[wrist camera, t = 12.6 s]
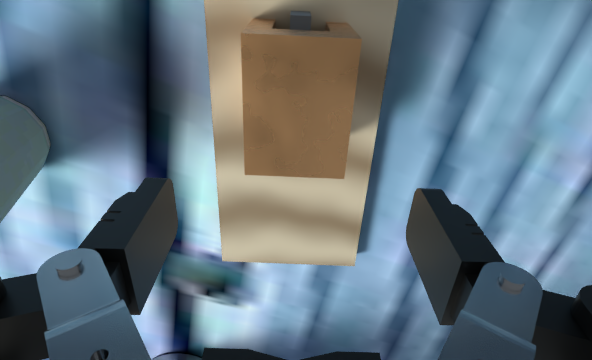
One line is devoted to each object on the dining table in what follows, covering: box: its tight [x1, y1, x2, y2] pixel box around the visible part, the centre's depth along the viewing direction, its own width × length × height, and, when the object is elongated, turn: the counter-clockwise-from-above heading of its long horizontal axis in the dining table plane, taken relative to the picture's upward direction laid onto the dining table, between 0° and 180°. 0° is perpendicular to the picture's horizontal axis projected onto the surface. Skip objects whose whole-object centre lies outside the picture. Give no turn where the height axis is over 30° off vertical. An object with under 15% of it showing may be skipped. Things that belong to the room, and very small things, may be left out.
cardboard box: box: [241, 18, 362, 179], centre depth 23 cm, size 8×6×6 cm
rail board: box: [204, 0, 398, 266], centre depth 28 cm, size 22×12×4 cm, turn 177°
